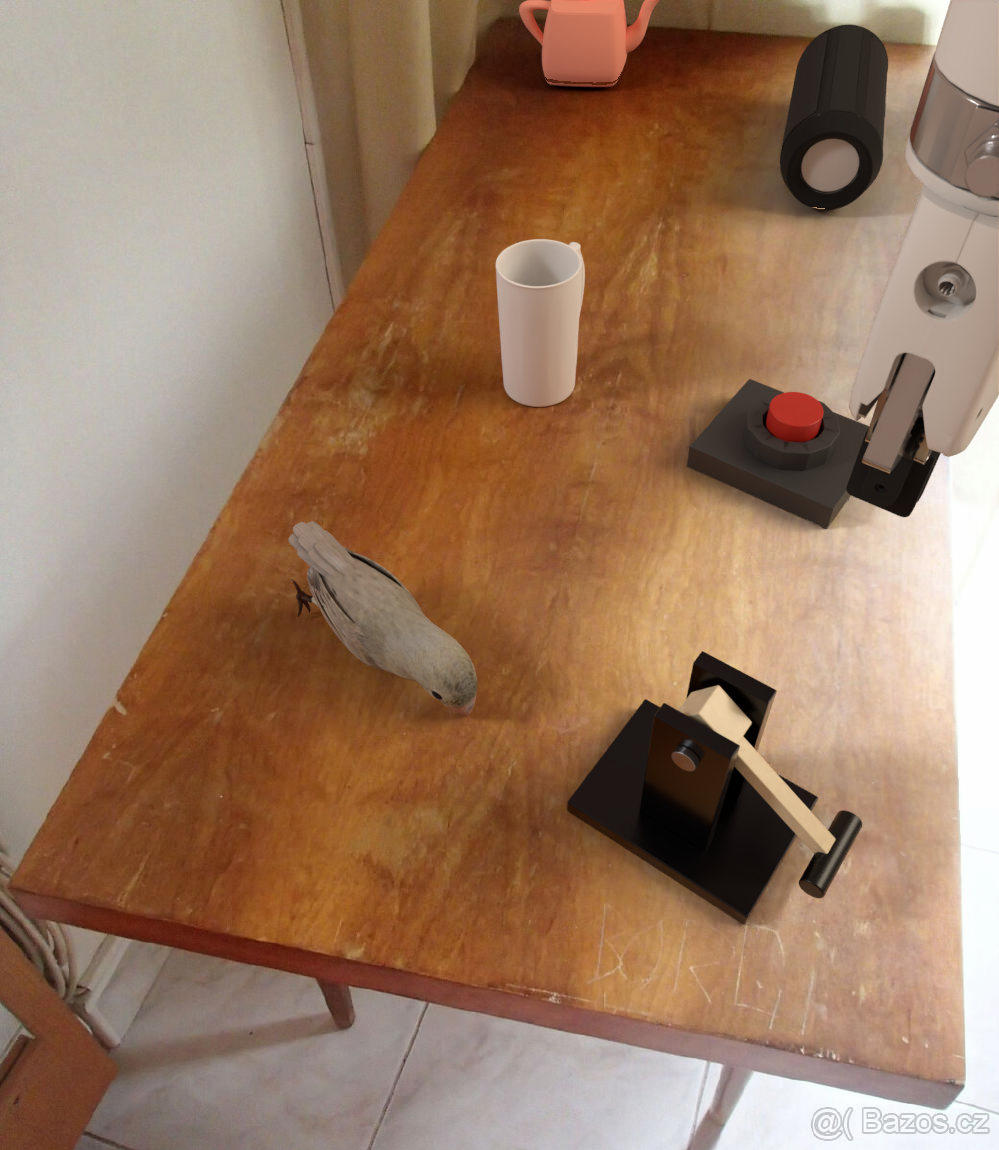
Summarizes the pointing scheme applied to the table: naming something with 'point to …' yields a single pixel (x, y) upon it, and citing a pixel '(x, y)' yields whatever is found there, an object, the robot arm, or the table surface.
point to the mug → (539, 319)
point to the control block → (779, 456)
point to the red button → (794, 417)
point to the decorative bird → (382, 619)
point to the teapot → (585, 38)
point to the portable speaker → (836, 118)
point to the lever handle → (778, 791)
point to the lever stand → (692, 796)
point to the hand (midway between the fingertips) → (882, 495)
